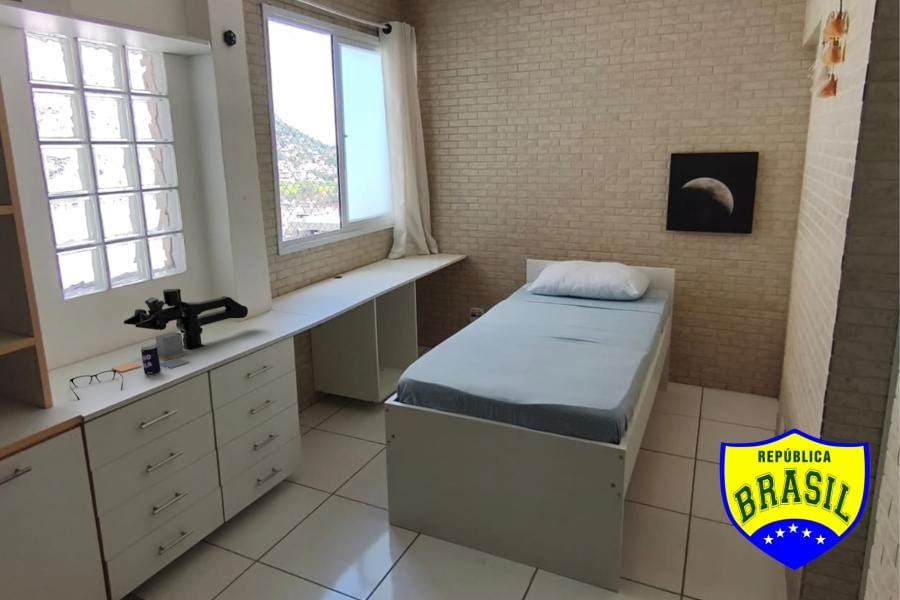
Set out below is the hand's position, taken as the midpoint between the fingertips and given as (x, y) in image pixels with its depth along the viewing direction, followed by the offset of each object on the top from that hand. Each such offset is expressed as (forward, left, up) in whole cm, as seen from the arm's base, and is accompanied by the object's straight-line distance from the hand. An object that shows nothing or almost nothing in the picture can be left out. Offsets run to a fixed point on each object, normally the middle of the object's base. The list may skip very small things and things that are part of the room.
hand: (129, 324), depth 240 cm
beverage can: (+3, +18, -17) cm, 25 cm away
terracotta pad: (+5, +2, -17) cm, 17 cm away
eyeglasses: (+22, +15, -17) cm, 31 cm away
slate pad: (-8, +14, -17) cm, 23 cm away
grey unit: (-13, +3, -17) cm, 21 cm away
